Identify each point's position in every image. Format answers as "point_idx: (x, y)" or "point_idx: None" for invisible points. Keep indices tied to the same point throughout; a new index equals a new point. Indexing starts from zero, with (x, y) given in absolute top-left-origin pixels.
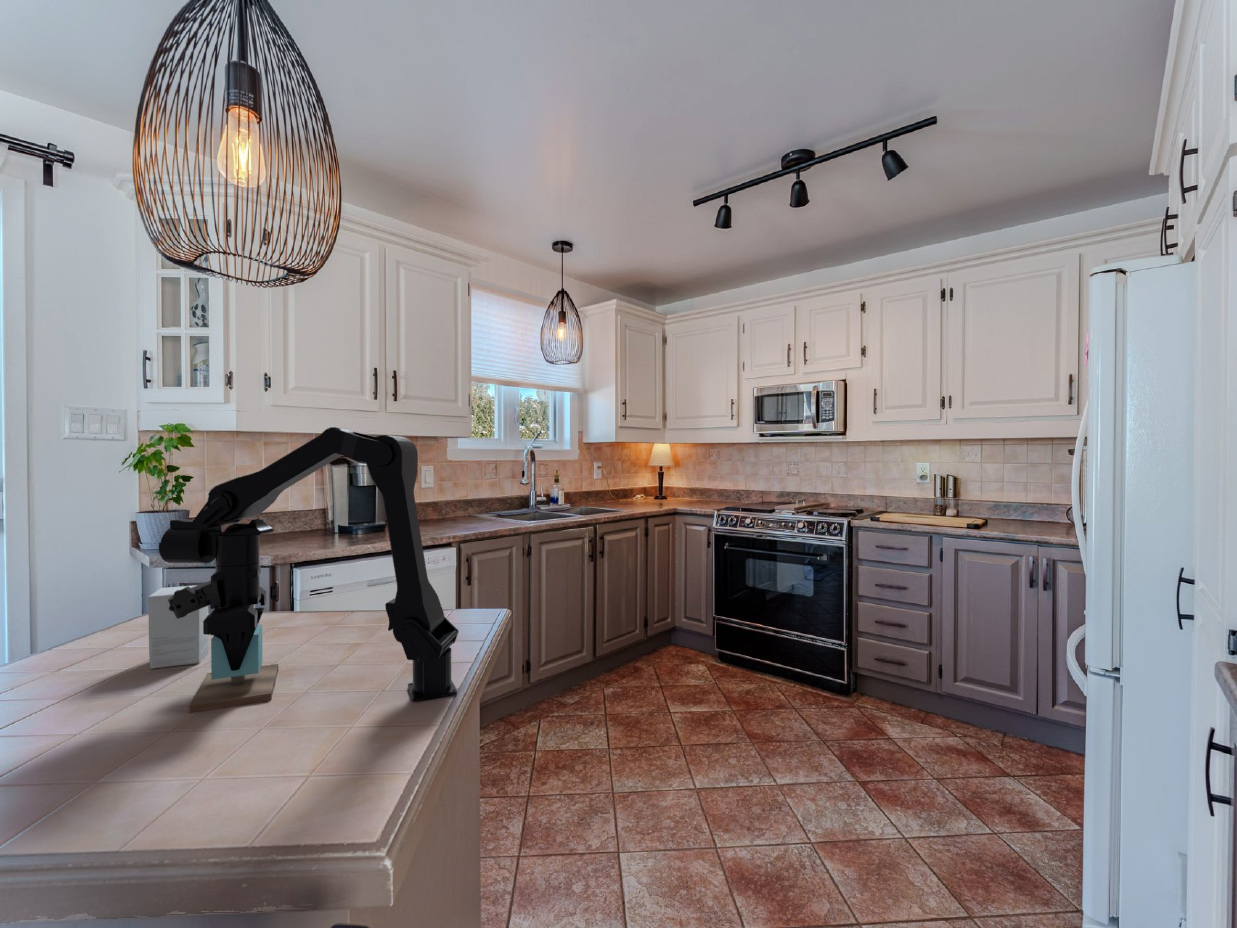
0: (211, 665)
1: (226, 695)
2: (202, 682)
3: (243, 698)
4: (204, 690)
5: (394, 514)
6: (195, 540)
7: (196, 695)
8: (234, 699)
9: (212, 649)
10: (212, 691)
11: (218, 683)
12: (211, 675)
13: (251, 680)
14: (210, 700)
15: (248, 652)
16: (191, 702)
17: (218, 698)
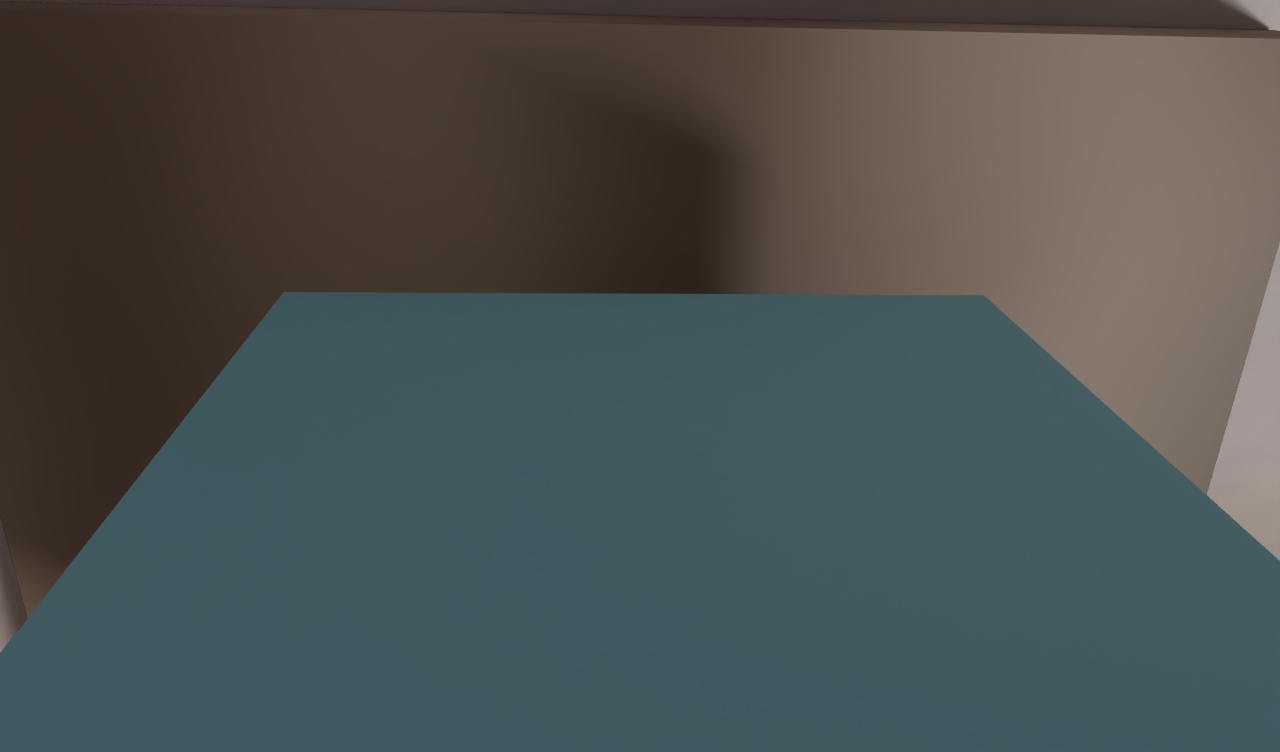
0: (208, 400)
1: (161, 418)
2: (886, 36)
3: (29, 590)
4: (485, 120)
5: None
6: None
7: (292, 42)
8: (4, 512)
9: (26, 659)
10: (389, 233)
11: (722, 260)
12: (268, 319)
13: None
14: (17, 259)
15: None
16: (2, 17)
17: (69, 343)
